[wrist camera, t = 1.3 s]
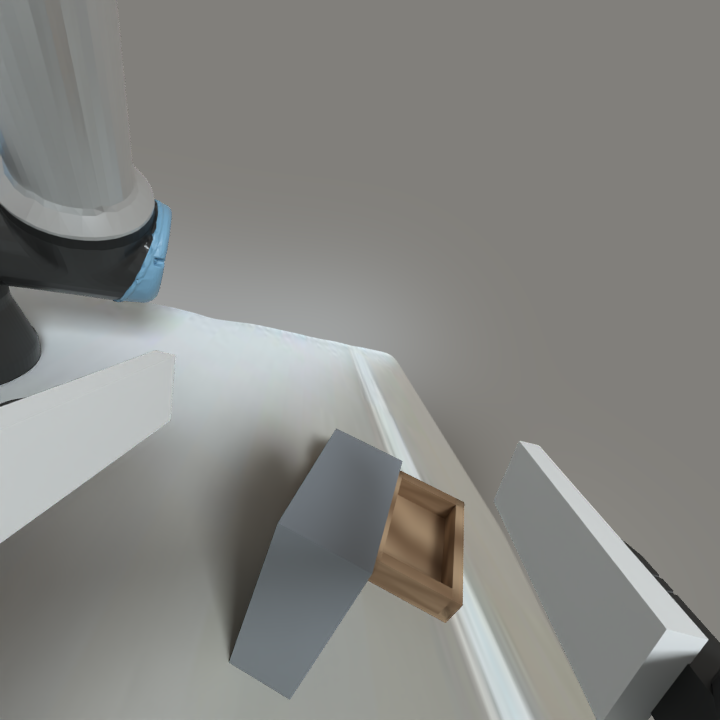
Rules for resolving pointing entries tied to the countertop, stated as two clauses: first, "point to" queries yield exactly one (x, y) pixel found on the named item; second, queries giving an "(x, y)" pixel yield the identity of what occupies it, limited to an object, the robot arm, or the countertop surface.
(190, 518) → the countertop surface
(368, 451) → the block
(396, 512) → the divided wooden tray
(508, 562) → the countertop surface
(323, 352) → the countertop surface
